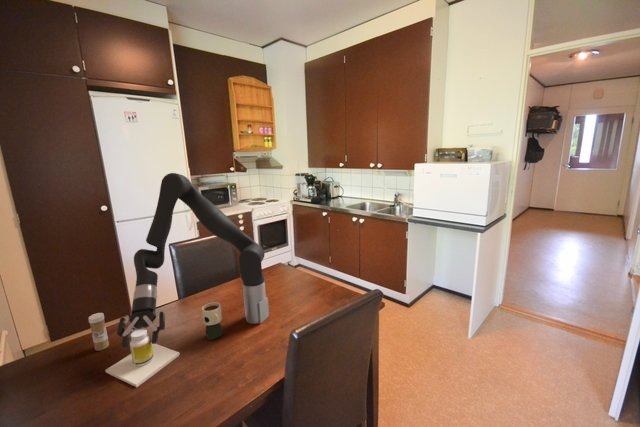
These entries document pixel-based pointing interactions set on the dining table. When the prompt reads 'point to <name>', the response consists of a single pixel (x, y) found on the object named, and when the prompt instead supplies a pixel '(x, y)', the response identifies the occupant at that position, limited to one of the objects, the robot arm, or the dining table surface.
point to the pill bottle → (141, 347)
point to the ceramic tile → (141, 373)
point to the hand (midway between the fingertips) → (139, 346)
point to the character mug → (212, 319)
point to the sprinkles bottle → (99, 331)
